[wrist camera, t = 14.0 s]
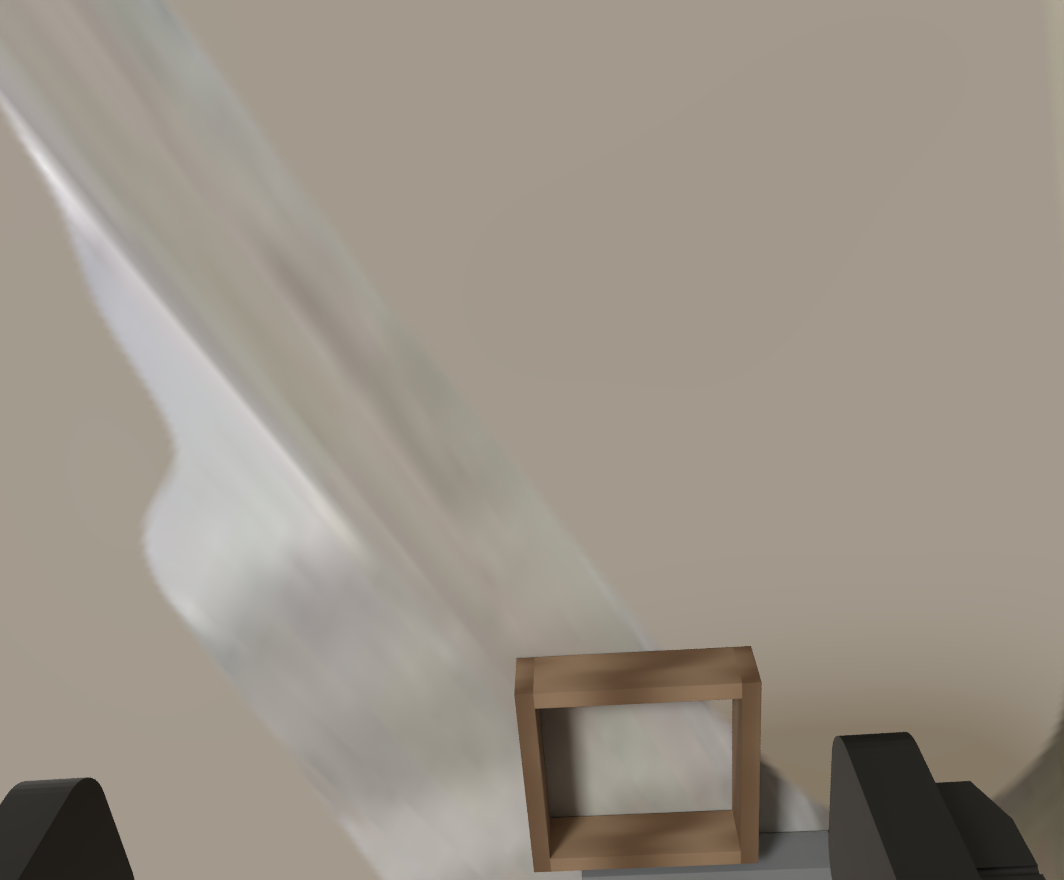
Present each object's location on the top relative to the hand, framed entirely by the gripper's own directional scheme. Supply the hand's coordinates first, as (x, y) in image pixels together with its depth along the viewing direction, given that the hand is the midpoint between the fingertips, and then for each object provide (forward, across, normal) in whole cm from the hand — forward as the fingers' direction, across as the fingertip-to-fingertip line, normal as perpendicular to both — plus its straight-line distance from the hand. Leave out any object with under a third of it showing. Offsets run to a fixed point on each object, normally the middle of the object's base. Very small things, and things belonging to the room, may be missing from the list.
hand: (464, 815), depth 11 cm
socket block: (+28, -3, +24) cm, 37 cm away
